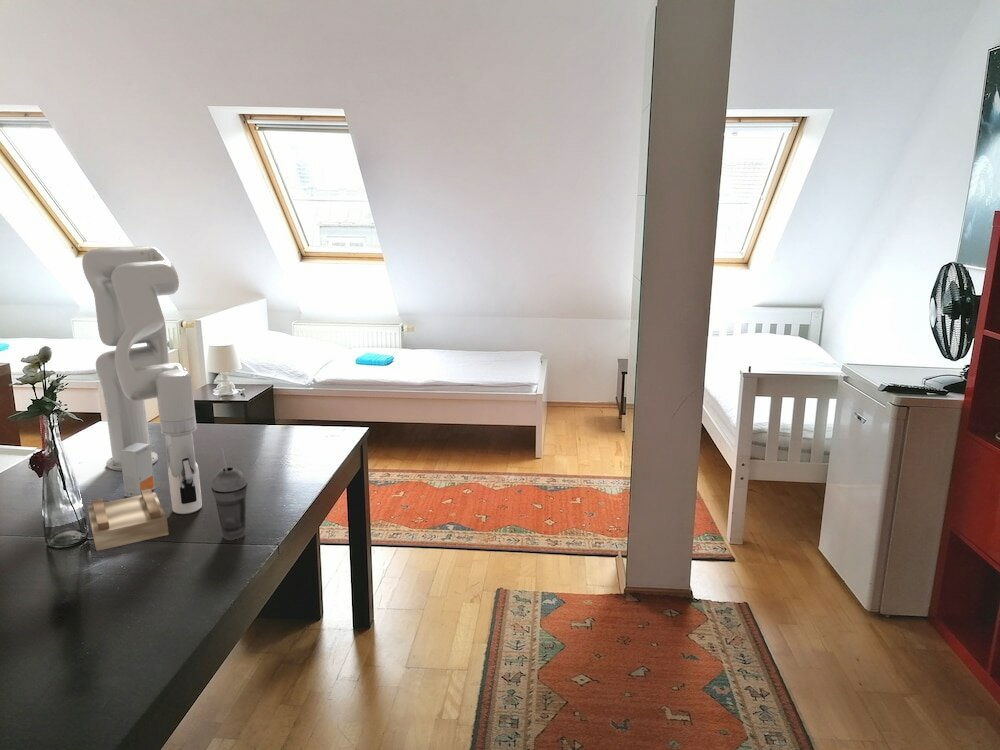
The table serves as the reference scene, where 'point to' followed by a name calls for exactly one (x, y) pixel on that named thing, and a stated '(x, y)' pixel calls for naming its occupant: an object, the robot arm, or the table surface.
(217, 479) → the beverage cup
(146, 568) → the table surface
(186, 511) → the can
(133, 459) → the skincare box
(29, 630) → the table surface
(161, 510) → the plinth
